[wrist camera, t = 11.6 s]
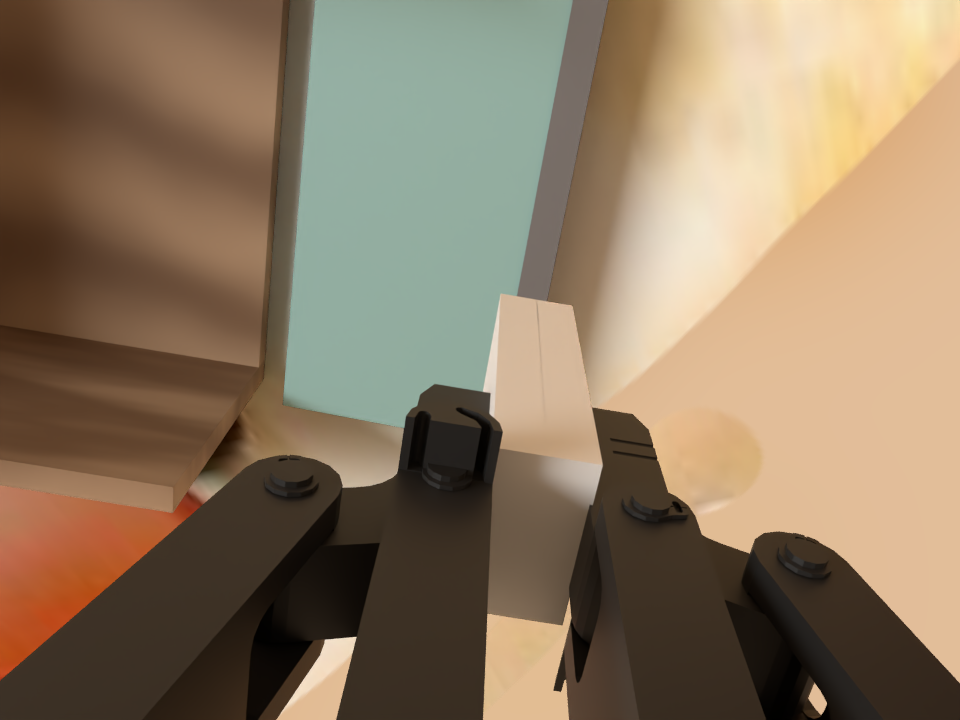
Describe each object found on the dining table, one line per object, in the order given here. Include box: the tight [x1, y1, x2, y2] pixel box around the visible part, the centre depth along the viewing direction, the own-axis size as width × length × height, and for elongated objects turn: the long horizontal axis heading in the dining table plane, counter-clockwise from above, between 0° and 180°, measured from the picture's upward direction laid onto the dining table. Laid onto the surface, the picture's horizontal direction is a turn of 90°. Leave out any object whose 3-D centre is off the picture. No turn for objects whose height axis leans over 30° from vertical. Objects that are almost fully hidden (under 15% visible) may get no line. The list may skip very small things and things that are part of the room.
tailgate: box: [283, 0, 608, 428], centre depth 33 cm, size 21×1×10 cm
